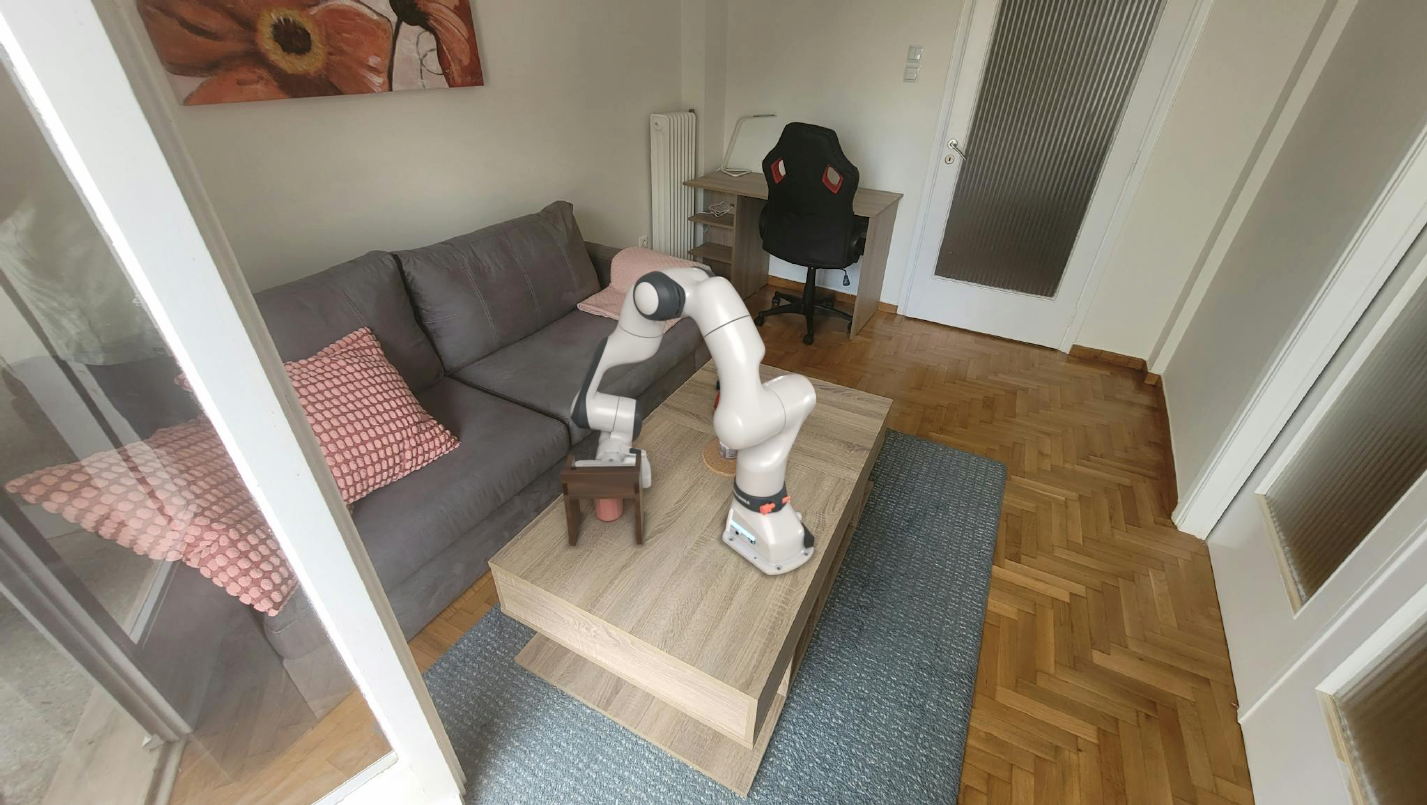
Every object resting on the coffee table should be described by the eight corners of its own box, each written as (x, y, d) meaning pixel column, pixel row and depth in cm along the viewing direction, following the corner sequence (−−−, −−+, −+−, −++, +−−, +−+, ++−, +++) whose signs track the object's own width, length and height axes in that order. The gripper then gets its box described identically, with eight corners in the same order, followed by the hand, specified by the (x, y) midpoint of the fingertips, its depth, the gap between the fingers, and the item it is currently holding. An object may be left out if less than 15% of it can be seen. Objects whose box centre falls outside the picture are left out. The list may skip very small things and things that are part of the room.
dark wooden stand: (576, 515, 143) (567, 445, 131) (644, 514, 144) (640, 444, 132) (570, 545, 134) (560, 473, 123) (642, 544, 135) (638, 472, 124)
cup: (627, 514, 141) (625, 481, 136) (602, 524, 138) (599, 490, 133) (615, 498, 146) (613, 465, 140) (591, 508, 143) (587, 474, 137)
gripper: (570, 451, 148) (561, 486, 136) (651, 450, 149) (650, 485, 137) (573, 470, 151) (564, 507, 139) (652, 469, 152) (650, 505, 141)
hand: (607, 496), depth 138 cm, fingers closed on cup, 7 cm apart
